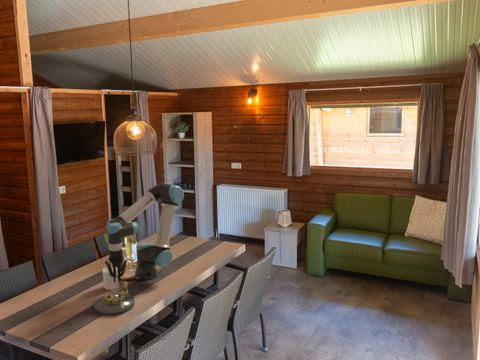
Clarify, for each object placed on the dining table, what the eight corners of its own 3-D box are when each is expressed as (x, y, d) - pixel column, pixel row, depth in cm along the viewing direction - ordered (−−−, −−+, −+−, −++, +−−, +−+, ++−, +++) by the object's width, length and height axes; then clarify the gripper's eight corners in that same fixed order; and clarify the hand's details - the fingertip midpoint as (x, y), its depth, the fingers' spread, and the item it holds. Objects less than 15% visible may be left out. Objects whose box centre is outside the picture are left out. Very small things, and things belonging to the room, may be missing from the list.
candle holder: (102, 291, 255) (101, 273, 253) (103, 285, 265) (102, 267, 263) (119, 289, 258) (118, 271, 256) (119, 283, 267) (118, 265, 265)
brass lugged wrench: (116, 306, 228) (115, 294, 227) (100, 303, 233) (99, 291, 231) (134, 294, 244) (133, 283, 242) (119, 291, 248) (118, 280, 247)
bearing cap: (112, 295, 250) (111, 284, 249) (142, 301, 242) (141, 290, 241) (86, 311, 230) (85, 299, 229) (117, 318, 222) (117, 306, 221)
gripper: (102, 251, 236) (104, 290, 240) (125, 251, 237) (127, 289, 241) (106, 247, 244) (108, 284, 248) (128, 246, 244) (130, 284, 248)
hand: (117, 287), depth 244 cm, fingers closed
